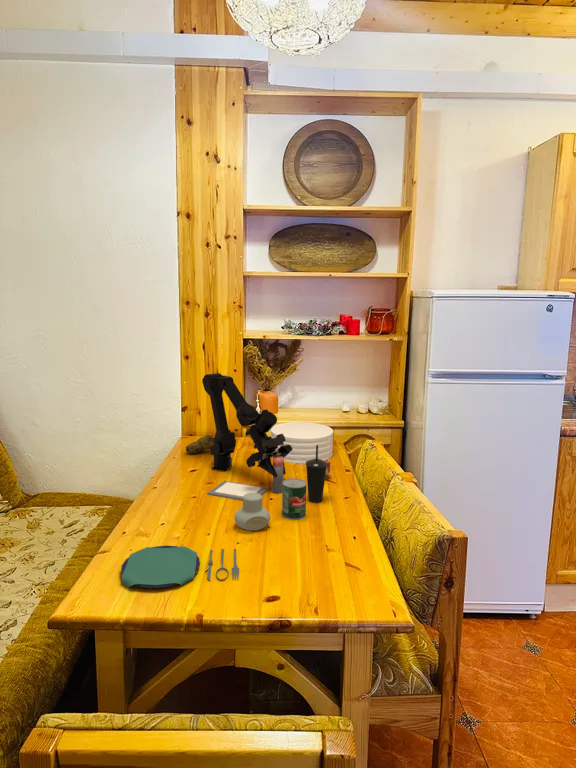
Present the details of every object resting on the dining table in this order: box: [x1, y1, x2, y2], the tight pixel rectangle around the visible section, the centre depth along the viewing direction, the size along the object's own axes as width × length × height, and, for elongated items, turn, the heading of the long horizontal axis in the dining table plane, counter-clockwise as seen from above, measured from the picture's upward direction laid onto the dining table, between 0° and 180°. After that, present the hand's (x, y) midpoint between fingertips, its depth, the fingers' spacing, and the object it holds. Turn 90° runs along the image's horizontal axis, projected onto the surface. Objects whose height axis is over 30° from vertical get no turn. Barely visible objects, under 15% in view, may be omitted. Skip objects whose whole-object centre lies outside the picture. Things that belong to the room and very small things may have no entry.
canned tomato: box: [281, 478, 308, 521], centre depth 164 cm, size 8×8×11 cm
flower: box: [323, 459, 332, 480], centre depth 197 cm, size 10×9×8 cm
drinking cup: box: [305, 445, 328, 504], centre depth 175 cm, size 8×8×20 cm
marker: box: [272, 456, 285, 495], centre depth 183 cm, size 4×4×13 cm
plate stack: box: [270, 421, 334, 464], centre depth 227 cm, size 28×28×12 cm
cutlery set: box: [120, 545, 240, 589], centre depth 131 cm, size 20×30×2 cm, turn 97°
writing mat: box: [206, 480, 269, 502], centre depth 182 cm, size 18×13×1 cm
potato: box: [185, 434, 215, 455], centre depth 225 cm, size 8×13×8 cm, turn 91°
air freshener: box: [234, 493, 271, 532], centre depth 155 cm, size 11×8×10 cm
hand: (280, 475), depth 182 cm, fingers closed on marker, 4 cm apart
